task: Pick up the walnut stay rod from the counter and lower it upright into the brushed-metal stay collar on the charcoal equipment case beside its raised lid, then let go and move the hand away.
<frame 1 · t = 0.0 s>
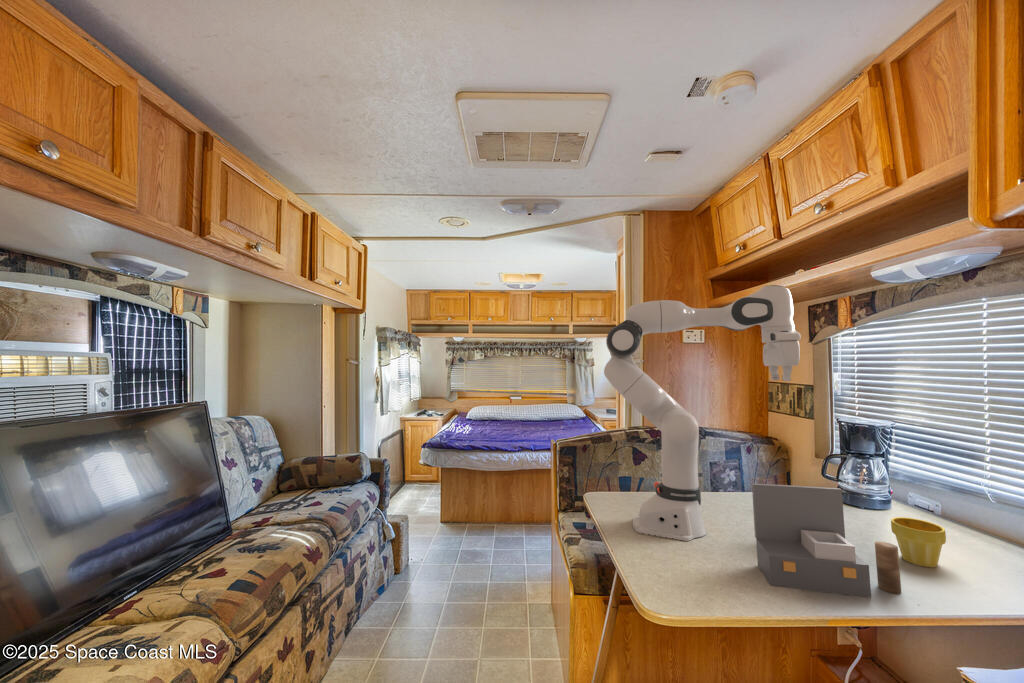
hand: (780, 380, 125), 48 cm above the table, fingers open, 8 cm apart
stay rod: (889, 589, 94), on the table
plant pot: (920, 562, 107), on the table
case: (810, 580, 98), on the table
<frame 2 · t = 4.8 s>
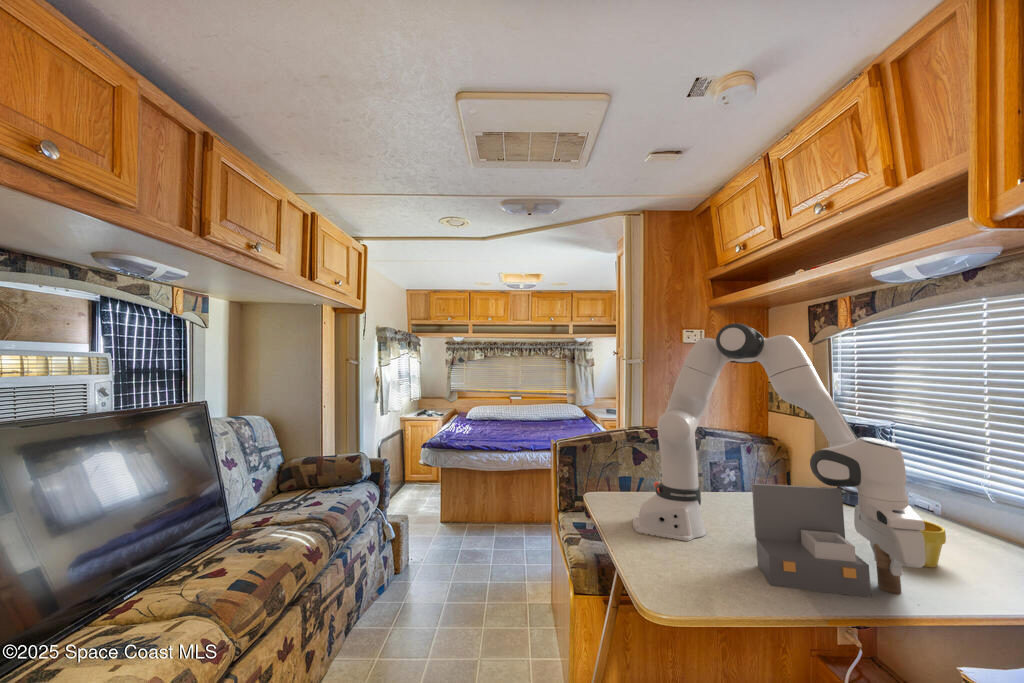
hand: (887, 568, 94), 5 cm above the table, fingers closed on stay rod, 4 cm apart
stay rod: (889, 589, 94), on the table, touching gripper
everything else where it was.
when the fingers open (13 cm above the table, at t = 11.7 s): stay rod drops 1 cm, resting on case.
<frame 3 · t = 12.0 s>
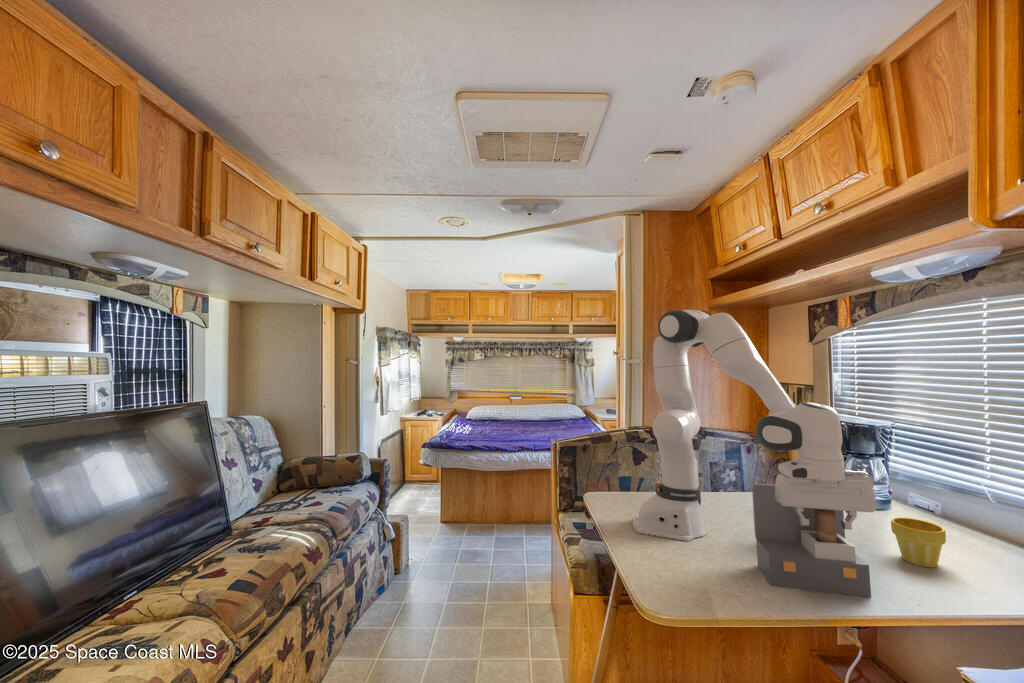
hand: (825, 526, 98), 13 cm above the table, fingers open, 7 cm apart
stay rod: (826, 552, 98), point 7 cm above the table, touching case
everything else where it was.
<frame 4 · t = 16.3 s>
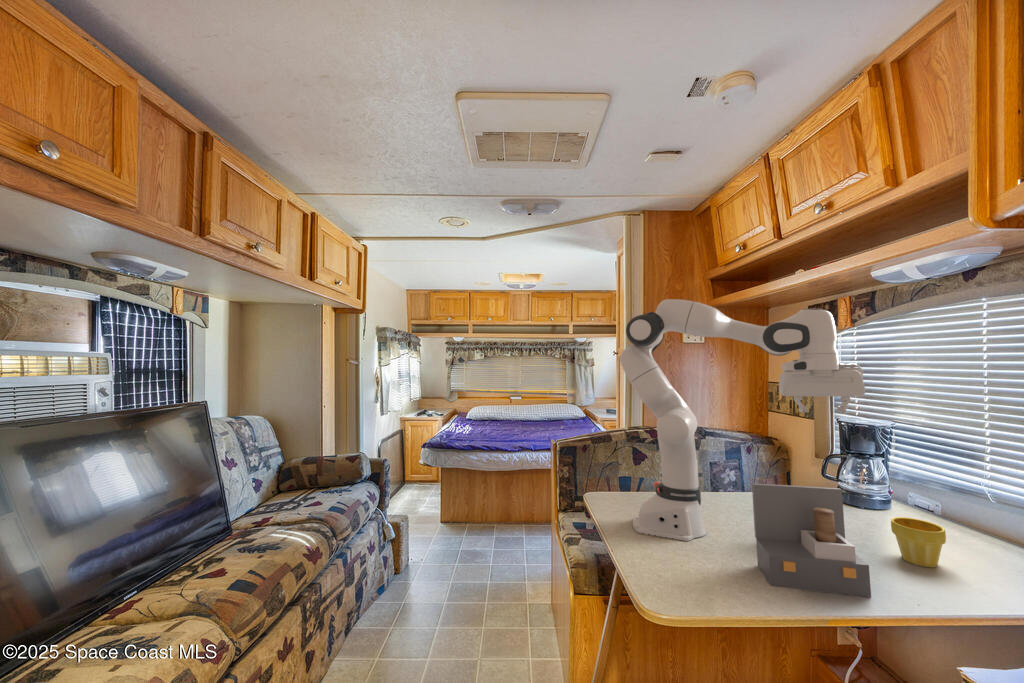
hand: (822, 412, 115), 39 cm above the table, fingers open, 8 cm apart
nothing on the table moved.
at the end: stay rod 0.1 cm from the target spot on the case, point 7.0 cm above the case's base; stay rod tilted 1°; the gripper is holding nothing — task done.
